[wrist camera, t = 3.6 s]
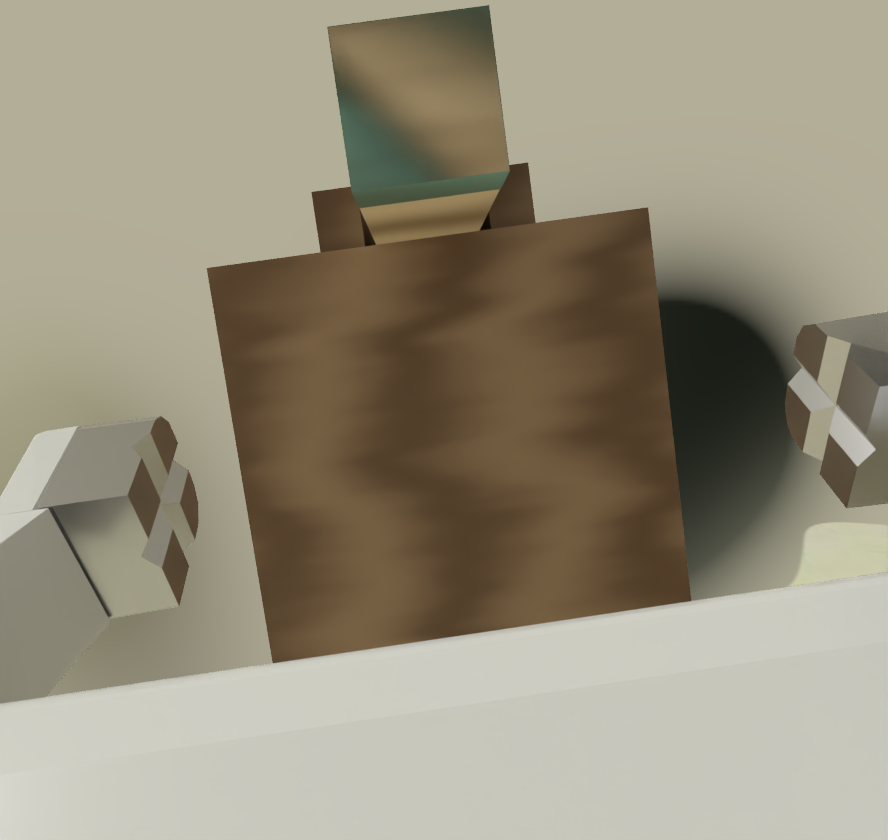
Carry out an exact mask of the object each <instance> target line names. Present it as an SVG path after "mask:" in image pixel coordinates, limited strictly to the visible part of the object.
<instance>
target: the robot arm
mask: <svg viewBox="0 0 888 840" xmlns="http://www.w3.org/2000/svg"><path fill="white" fill-rule="evenodd" d="M793 355H794V356H795V358H796V359H797V361H798V362H799V364H800V365H801V366H802V368H801V370H800V371H799V372H798V373H797V374H796V375H795V377H794V378H793V379H792V380H791V381H790V382H789V383H788V386H787V393H786V400H785V411H786V417H787V424H788V427H789V430H790V432H791V434H792V437H793V439H794V440H795V442H796V443H797V445H798V446H799V447H800V449H801V450H802V451H803V452H804V453H807V454H809V455H811V456H813V457H815V458H817V459H820V460H822V461H823V462H822V466H821V471H820V475H821V476H822V477H823V479H824V480H825V481H826V483H827V484H828V485H829V486H830V488H831V489H832V490H833V492H834V493H835V494H836V495H837V496H838V498H839V499H840V500H841V502H842V503H843V504H844V506H845V507H846V508H854V507H862V506H870V505H879V504H887V503H888V311H887V312H882V313H877V314H871V315H865V316H859V317H853V318H847V319H842V320H835V321H830V322H823V323H818V324H812V325H805V326H803V327H802V329H801V331H800V333H799V335H798V336H797V339H796V344H795V349H794V354H793ZM177 444H178V442H177V440H176V438H175V436H174V433H173V431H172V429H171V426H170V424H169V422H168V421H166V420H165V419H164V418H163V417H161V416H160V417H152V418H143V419H135V420H127V421H119V422H110V423H102V424H94V425H86V426H83V427H79V426H76V427H69V428H63V429H56V430H50V431H44V432H42V433H40V434H37V435H36V436H35V437H34V438H33V440H32V442H31V444H30V445H29V447H28V449H27V451H26V452H25V454H24V456H23V458H22V459H21V461H20V463H19V465H18V467H17V468H16V470H15V472H14V474H13V475H12V477H11V479H10V481H9V483H8V484H7V486H6V488H5V490H4V491H3V493H2V495H1V497H0V840H888V572H885V573H878V574H871V575H864V576H858V577H851V578H844V579H837V580H831V581H824V582H817V583H810V584H803V585H797V586H790V587H783V588H776V589H770V590H763V591H756V592H749V593H742V594H736V595H729V596H722V597H716V598H709V599H702V600H695V601H688V602H681V603H675V604H668V605H661V606H655V607H648V608H641V609H635V610H628V611H621V612H615V613H608V614H601V615H595V616H588V617H581V618H575V619H568V620H561V621H555V622H548V623H541V624H535V625H528V626H521V627H515V628H508V629H501V630H495V631H488V632H481V633H475V634H468V635H461V636H454V637H448V638H441V639H434V640H427V641H420V642H414V643H407V644H400V645H393V646H387V647H380V648H373V649H366V650H360V651H353V652H346V653H339V654H333V655H326V656H319V657H312V658H306V659H299V660H292V661H285V662H279V663H272V664H265V665H259V666H252V667H245V668H239V669H231V670H224V671H218V672H211V673H204V674H197V675H191V676H184V677H177V678H170V679H164V680H157V681H150V682H143V683H137V684H130V685H123V686H116V687H110V688H103V689H96V690H89V691H83V692H76V693H69V694H63V695H56V696H49V697H46V696H47V695H48V694H49V693H50V691H51V690H52V689H53V688H54V687H55V686H56V684H57V683H58V682H59V681H60V680H61V679H62V678H63V676H64V675H65V674H66V673H67V672H68V671H69V669H70V668H71V667H72V666H73V665H74V664H75V662H76V661H77V660H78V659H79V658H80V657H81V656H82V654H83V653H84V652H85V651H86V650H87V649H88V647H89V646H90V645H91V644H92V643H93V642H94V641H95V639H96V638H97V637H98V636H99V635H100V634H101V632H102V631H103V630H104V629H105V628H106V627H107V626H108V624H109V623H110V618H115V617H121V616H127V615H132V614H138V613H144V612H149V611H155V610H161V609H166V608H172V607H178V606H179V605H180V600H181V596H182V593H183V588H184V584H185V580H186V576H187V571H188V567H189V565H188V563H187V560H186V558H185V556H184V553H183V551H184V550H185V549H186V548H187V547H188V546H189V545H190V544H191V543H193V542H194V541H195V537H196V532H197V528H198V501H197V496H196V492H195V487H194V484H193V481H192V478H191V476H190V473H189V470H187V469H186V468H184V467H183V466H181V465H180V464H178V463H177V462H176V461H174V460H173V458H174V454H175V451H176V447H177Z"/></svg>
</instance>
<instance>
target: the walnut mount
mask: <svg viewBox="0 0 888 840" xmlns="http://www.w3.org/2000/svg"><path fill="white" fill-rule="evenodd" d="M509 168H510V172H509V174H508V176H507V178H506V180H505V182H504V184H503V186H502V188H501V189H500V190H499V192H498V194H497V196H496V198H495V200H494V202H493V204H492V206H491V208H490V210H489V212H488V214H487V216H486V218H485V220H484V222H483V224H482V226H481V228H480V230H479V231H474V232H467V233H459V234H452V235H445V236H437V237H430V238H423V239H416V240H408V241H401V242H394V243H387V244H379V245H376V243H375V241H374V239H373V237H372V234H371V232H370V230H369V228H368V226H367V223H366V221H365V219H364V217H363V215H362V212H361V210H360V208H359V207H358V205H357V203H356V201H355V198H354V196H353V194H352V191H351V187H346V188H338V189H332V190H325V191H316V192H312V198H313V205H314V212H315V218H316V224H317V231H318V237H319V244H320V251H321V253H315V254H307V255H299V256H293V257H285V258H277V259H271V260H264V261H256V262H248V263H242V264H235V265H227V266H220V267H212V268H207V272H208V278H209V283H210V290H211V296H212V302H213V308H214V314H215V320H216V326H217V332H218V338H219V343H220V349H221V356H222V362H223V367H224V374H225V380H226V386H227V392H228V398H229V404H230V410H231V416H232V422H233V428H234V434H235V440H236V446H237V452H238V458H239V463H240V470H241V475H242V482H243V487H244V493H245V499H246V505H247V511H248V517H249V523H250V529H251V535H252V541H253V547H254V553H255V559H256V565H257V571H258V577H259V583H260V589H261V595H262V601H263V607H264V613H265V619H266V625H267V631H268V637H269V643H270V649H271V655H272V661H273V663H279V662H285V661H292V660H299V659H306V658H312V657H319V656H326V655H333V654H339V653H346V652H353V651H360V650H366V649H373V648H380V647H387V646H393V645H400V644H407V643H414V642H420V641H427V640H434V639H441V638H448V637H454V636H461V635H468V634H475V633H481V632H488V631H495V630H501V629H508V628H515V627H521V626H528V625H535V624H541V623H548V622H555V621H561V620H568V619H575V618H581V617H588V616H595V615H601V614H608V613H615V612H621V611H628V610H635V609H641V608H648V607H655V606H661V605H668V604H675V603H681V602H688V601H691V595H690V586H689V577H688V568H687V560H686V550H685V540H684V531H683V522H682V513H681V505H680V496H679V486H678V477H677V468H676V459H675V450H674V441H673V432H672V422H671V413H670V404H669V396H668V386H667V377H666V368H665V359H664V349H663V341H662V331H661V323H660V313H659V304H658V295H657V286H656V277H655V268H654V258H653V250H652V241H651V231H650V222H649V213H648V208H641V209H634V210H626V211H620V212H612V213H605V214H597V215H590V216H583V217H576V218H568V219H562V220H554V221H546V222H539V223H535V216H534V208H533V200H532V192H531V184H530V176H529V168H528V163H522V164H515V165H509Z"/></svg>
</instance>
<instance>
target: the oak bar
mask: <svg viewBox="0 0 888 840" xmlns="http://www.w3.org/2000/svg"><path fill="white" fill-rule="evenodd" d="M328 34H329V41H330V48H331V54H332V62H333V68H334V75H335V82H336V89H337V96H338V102H339V108H340V115H341V123H342V129H343V136H344V143H345V149H346V157H347V163H348V170H349V177H350V184H351V191H352V194H353V196H354V198H355V201H356V203H357V205H358V207H359V208H360V210H361V212H362V215H363V217H364V219H365V221H366V223H367V226H368V228H369V230H370V232H371V234H372V237H373V239H374V241H375V243H376V245H379V244H387V243H394V242H401V241H408V240H416V239H423V238H430V237H437V236H445V235H452V234H459V233H467V232H474V231H479V230H480V228H481V226H482V224H483V222H484V220H485V218H486V216H487V214H488V212H489V210H490V208H491V206H492V204H493V202H494V200H495V198H496V196H497V194H498V192H499V190H500V189H501V188H502V186H503V184H504V182H505V180H506V178H507V176H508V174H509V172H510V168H509V160H508V153H507V144H506V136H505V128H504V121H503V113H502V105H501V97H500V89H499V81H498V74H497V65H496V58H495V50H494V42H493V34H492V26H491V18H490V10H489V5H488V6H480V7H473V8H465V9H458V10H450V11H443V12H435V13H427V14H420V15H413V16H405V17H397V18H390V19H382V20H375V21H367V22H361V23H352V24H345V25H338V26H330V27H328Z"/></svg>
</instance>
